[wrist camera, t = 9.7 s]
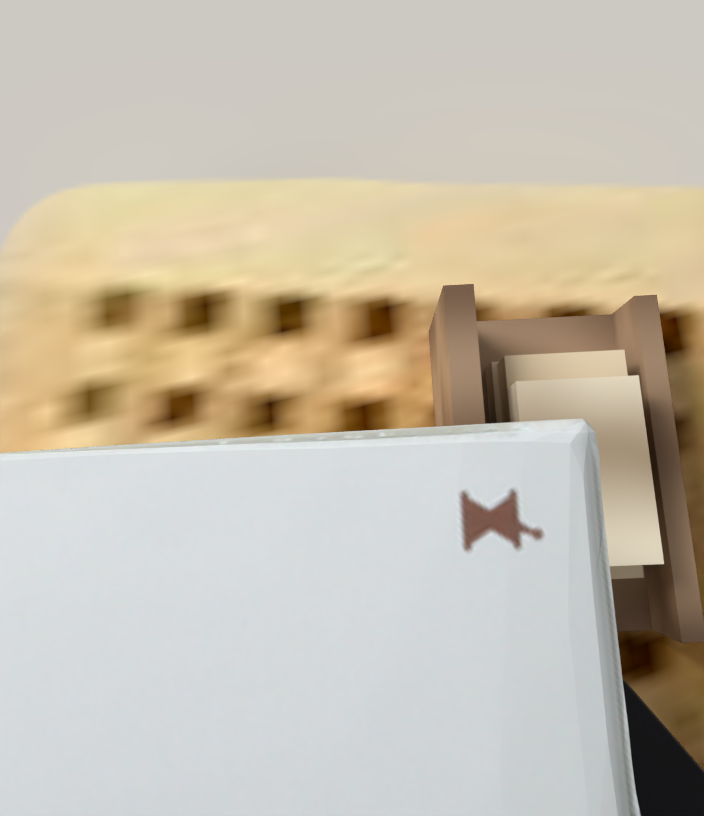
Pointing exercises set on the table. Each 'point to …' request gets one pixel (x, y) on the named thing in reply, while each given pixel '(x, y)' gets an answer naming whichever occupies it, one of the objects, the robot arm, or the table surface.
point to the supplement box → (312, 627)
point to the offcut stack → (615, 430)
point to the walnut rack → (645, 356)
